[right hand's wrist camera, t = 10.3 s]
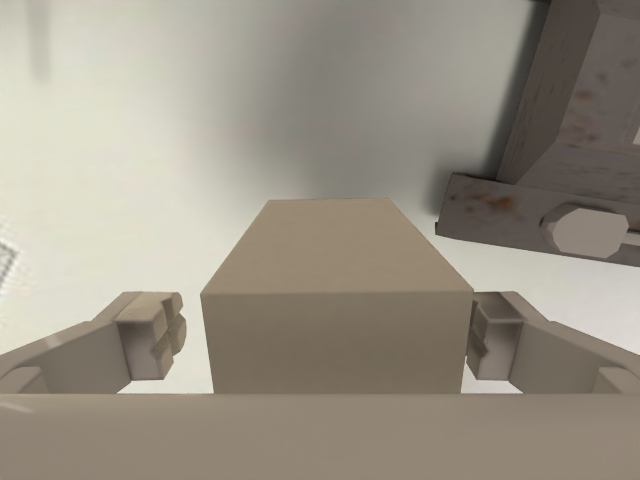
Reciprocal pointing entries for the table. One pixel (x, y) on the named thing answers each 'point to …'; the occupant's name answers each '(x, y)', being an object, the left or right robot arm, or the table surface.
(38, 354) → the right robot arm
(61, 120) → the table surface
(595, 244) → the toy
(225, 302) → the box
